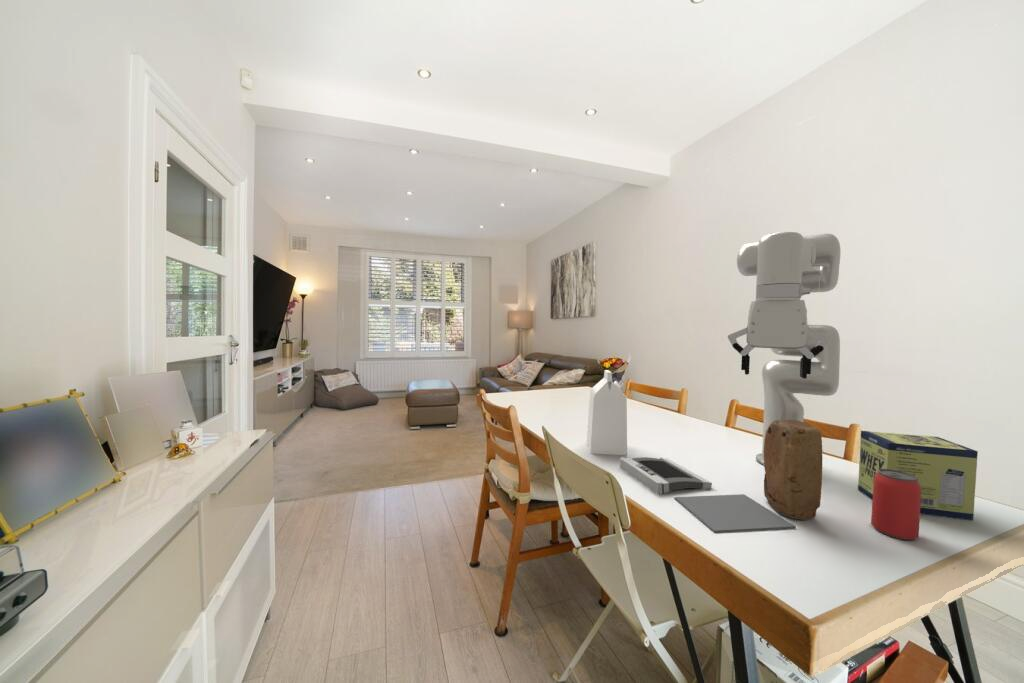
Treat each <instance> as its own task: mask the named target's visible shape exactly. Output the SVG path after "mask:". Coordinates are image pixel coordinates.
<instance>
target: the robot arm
mask: <svg viewBox="0 0 1024 683" xmlns="http://www.w3.org/2000/svg"><path fill="white" fill-rule="evenodd" d="M840 244H841V243H840V240H839V239H838V237H837V236H836V235H834V234H831V233H819V234H811V235H804V236H803V235H802V234H801V233H800V232H795V231H783V232H782V231H780V232H775V233H770V234H766V235H764V236H762V237H761V238H760V240H759V241H758V242H751V243H745V244H743V245H742V246H741V247H740V249H739V251H738V254H737V256H736V266H737V267H736V268H737V269H738V272H739V273H740V274H741V275H742V276H745V277H753V276H756V286H755V289H756V290H755V300H754V301H753V300H752V301H751V302H750V305H749V309H748V310H749V311H748V316H747V326H746V327H744V328H742V329H739V330H737V331H734V332H733V333H730V334H728V336H727V339H728V341H729V343H730V345H731V347H732V348H733V349H734V350H735V351H737V352H738V354H740V355H741V362H740V363H741V365H740V367H741V368H740V370H741V371H744V375H750V363H751V362H750V357H751V356H750V355H749V354H750V352H752V350H754V349H755V348H756V349H757V348H759V349H771V352H772V353H774V354H775V355H779V356H784V357H785V356H787V357H801V358H800V360H795V359H794V360H793V359H773V360H769V361H767V362H766V363H764V365H763V366H762V370H761V371H762V372H761V375H762V376H761V377H762V383H763V394H764V400H763V401H764V404H763V408H764V409H763V425H762V426H763V427H762V430H763V431H762V450H761V453H757V454H756V455H755V461H757V463H759V464H760V465H762V466H764V440H765V434H766V430H767V429H768V427H769V425H770V424H771V423H772V422H773V421H775V420H796V421H800V422H804V420H805V419H804V416H805V410H804V406H803V405H802V403H801V402H800V400H799V399H798V398H797V397H796V395H794V394H802V395H803V394H804V395H812V396H813V395H814V396H822V397H828V396H833V395H835V394H836V393H837V391H838V389H839V386H840V385H839V384H840V363H841V361H840V358H841V357H840V356H841V353H840V352H841V337H840V333H839V330H837V329H836V328H835V327H834V326H831V325H829V324H828V325H827V324H808V309H807V307H806V302H805V299H802V297H803V296H805V295H810V294H811V293H813V294H814V293H825V292H830V291H832V290H834V289H835V288H836V286H837V285H838V281H839V277H840V275H839V274H840V264H841V263H840V262H841V245H840ZM745 335H746V343H747V344H746V345H744V347H743V346H742V345H740V344H739V342H738V341H737V338H740V337H743V336H745ZM814 358H815V359H816V360H817V361H812V360H813V359H814Z"/></svg>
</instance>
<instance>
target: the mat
mask: <svg viewBox="0 0 1024 683" xmlns="http://www.w3.org/2000/svg"><path fill="white" fill-rule="evenodd" d="M674 500H675V501H676V502H678V503H679V504H680V505H681V506H682V507H683V508H685V510H686V511H688V512H689V513H691V515H693V516H694V517H695V518H696V519H697V520H699V521H700V522H701V523H702V524H703V525H704V526H705V527H707V528H708V529H709V530H711V532H713V533H733V532H751V531H752V532H753V531H768V530H769V531H770V529H772V530H788V529H787V528H791V529H796V528H797V526H796V525H794V524H793V523H791V522H790V521H788V520H786V519H785V518H783V517H781V516H780V515H779V514H777V513H775V512H773V511H772V510H770V509H768V508H767V507H766V506H764V505H762V504H760V503H759V502H757V501H756V500H754V499H752V498H751V497H749V496H747V495H746V494H744V493H743V494H742V493H741V494H721V495H720V494H719V495H717V494H716V495H696V496H695V495H694V496H674Z"/></svg>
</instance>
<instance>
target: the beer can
mask: <svg viewBox="0 0 1024 683" xmlns="http://www.w3.org/2000/svg"><path fill="white" fill-rule="evenodd" d="M871 503H872V505H871V520H870V521H871V522H870V524H871V526H873V528H874V529H876V530H877V531H878V532H880V533H882V534H885V535H887V536H889V537H891V538H892V537H893V538H895V539H899V540H905V541H913V540H917V539H918V538H919V535H920V534H919V533H920V522H921V521H920V518H921V514H920V507H921V487H920V484H919V482H918V478H917V477H916V476H914V475H912V474H909V473H906V472H902V471H898V470H892V469H879V470H878V473H877V474H876V475H875V478H874V484H873V500H872V502H871Z"/></svg>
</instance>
